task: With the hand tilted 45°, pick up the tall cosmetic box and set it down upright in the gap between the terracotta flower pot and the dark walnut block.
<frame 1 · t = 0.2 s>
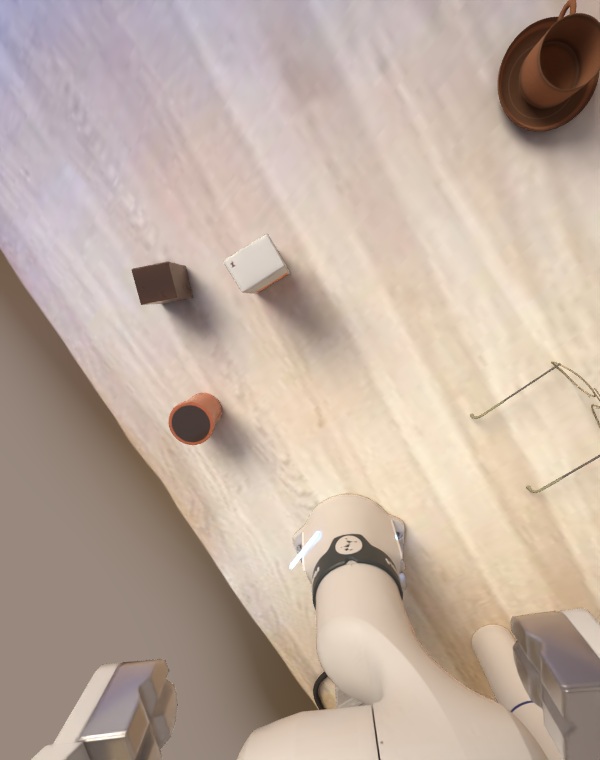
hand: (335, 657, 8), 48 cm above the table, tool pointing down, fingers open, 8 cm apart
eyeglasses: (538, 423, 56), on the table
walnut block: (173, 285, 54), on the table
coffee box: (360, 667, 68), on the table
cylindrical container: (491, 639, 66), on the table
flower pot: (204, 409, 58), on the table
cosmetic box: (266, 271, 53), on the table
cup and saucer: (538, 85, 47), on the table
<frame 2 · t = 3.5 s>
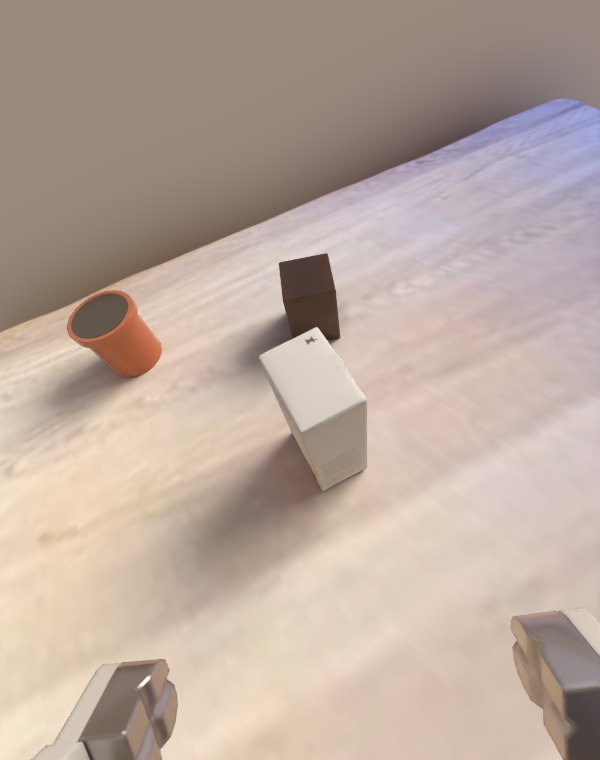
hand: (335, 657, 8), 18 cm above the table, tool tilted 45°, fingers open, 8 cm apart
walnut block: (314, 323, 38), on the table
flower pot: (137, 355, 39), on the table
cosmetic box: (328, 451, 31), on the table
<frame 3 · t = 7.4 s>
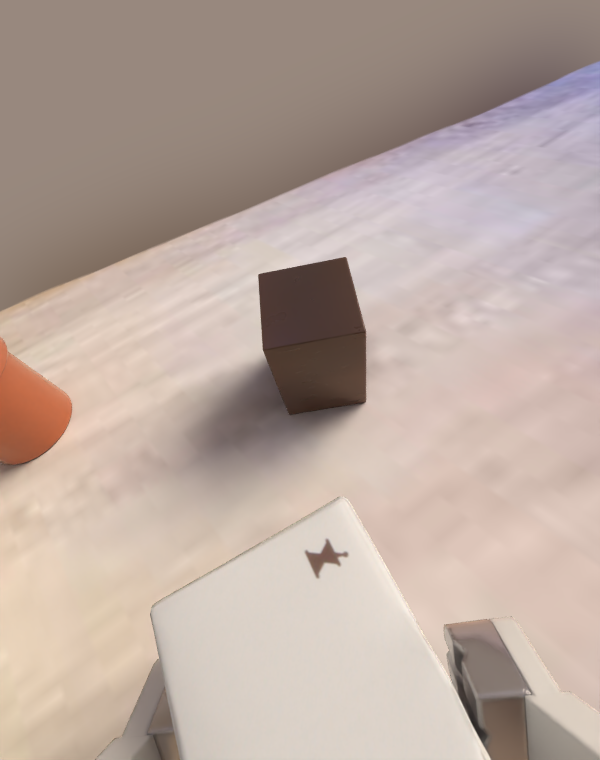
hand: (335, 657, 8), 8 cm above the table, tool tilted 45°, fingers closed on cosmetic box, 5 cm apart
walnut block: (321, 373, 23), on the table
flower pot: (31, 424, 24), on the table
cosmetic box: (352, 652, 15), on the table, touching gripper
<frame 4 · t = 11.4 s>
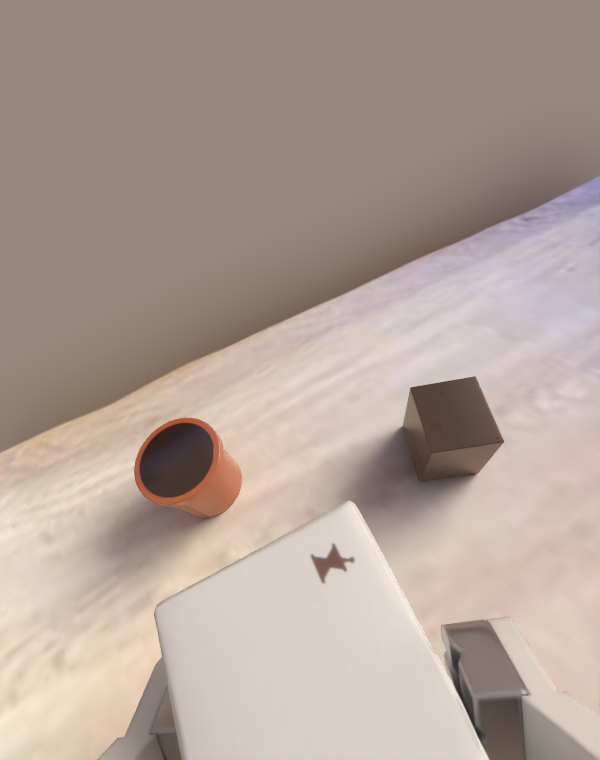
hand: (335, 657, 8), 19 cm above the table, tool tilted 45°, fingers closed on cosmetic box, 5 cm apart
walnut block: (438, 448, 30), on the table
flower pot: (210, 484, 31), on the table
cosmetic box: (352, 652, 15), point 11 cm above the table, touching gripper
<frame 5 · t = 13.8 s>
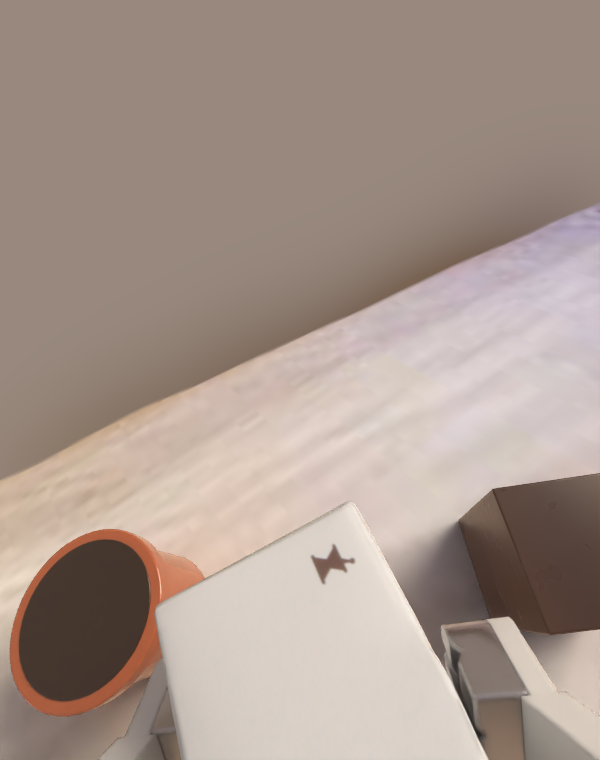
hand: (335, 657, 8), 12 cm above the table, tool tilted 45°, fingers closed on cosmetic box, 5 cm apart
walnut block: (518, 563, 19), on the table
flower pot: (161, 610, 20), on the table
cosmetic box: (352, 652, 15), point 3 cm above the table, touching gripper
when the fingers open (8 cm above the table, at t = 15.5 s): cosmetic box stays where it is, on the table.
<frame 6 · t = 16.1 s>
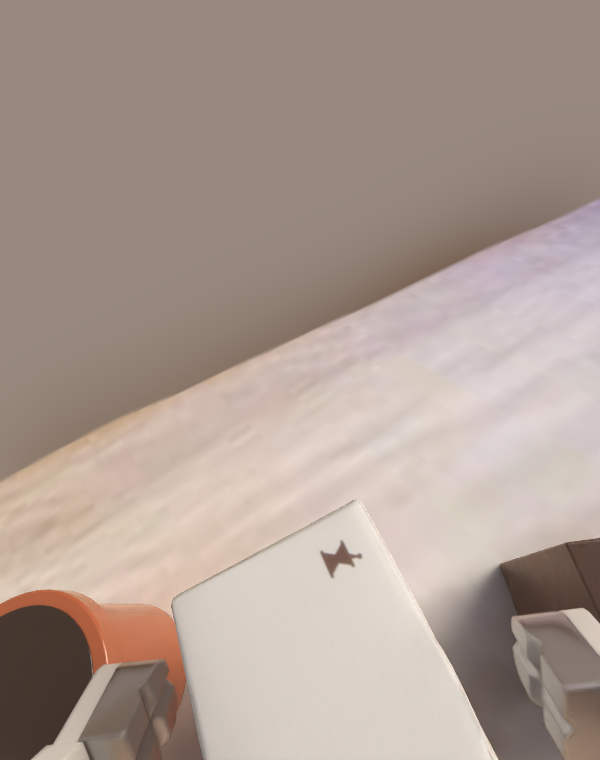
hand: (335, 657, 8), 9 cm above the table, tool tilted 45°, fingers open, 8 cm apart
walnut block: (581, 624, 15), on the table
flower pot: (127, 677, 16), on the table
cosmetic box: (357, 650, 16), on the table
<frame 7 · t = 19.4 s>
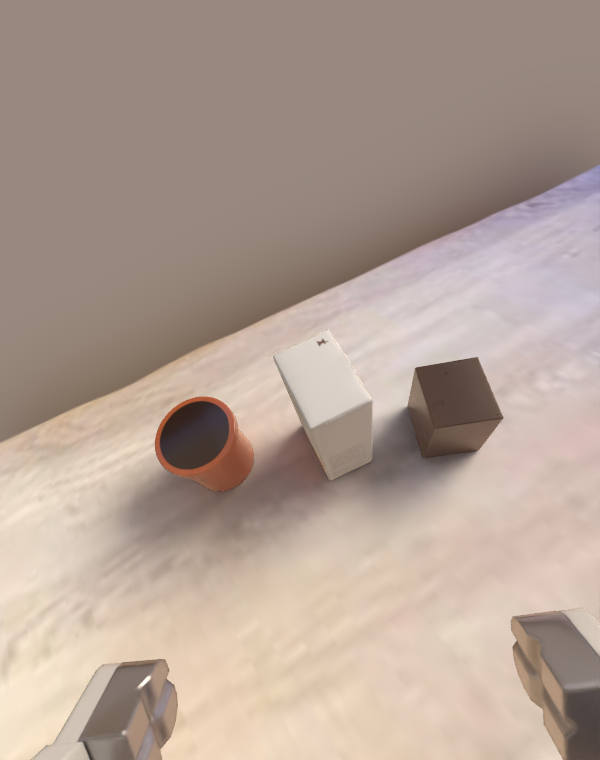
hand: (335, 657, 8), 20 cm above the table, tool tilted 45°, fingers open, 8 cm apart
walnut block: (441, 426, 31), on the table
flower pot: (224, 460, 33), on the table
cosmetic box: (336, 443, 32), on the table
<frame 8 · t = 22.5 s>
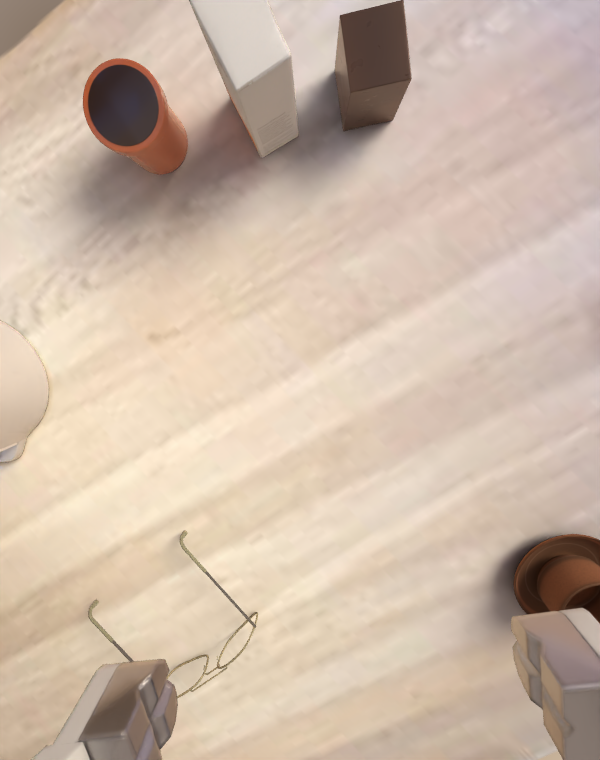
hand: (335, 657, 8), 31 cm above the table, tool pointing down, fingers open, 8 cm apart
eyeglasses: (181, 603, 46), on the table
walnut block: (364, 95, 33), on the table
flower pot: (158, 142, 34), on the table
cosmetic box: (265, 119, 34), on the table
cup and saucer: (557, 569, 43), on the table
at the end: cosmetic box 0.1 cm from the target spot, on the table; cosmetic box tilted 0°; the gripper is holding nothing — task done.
